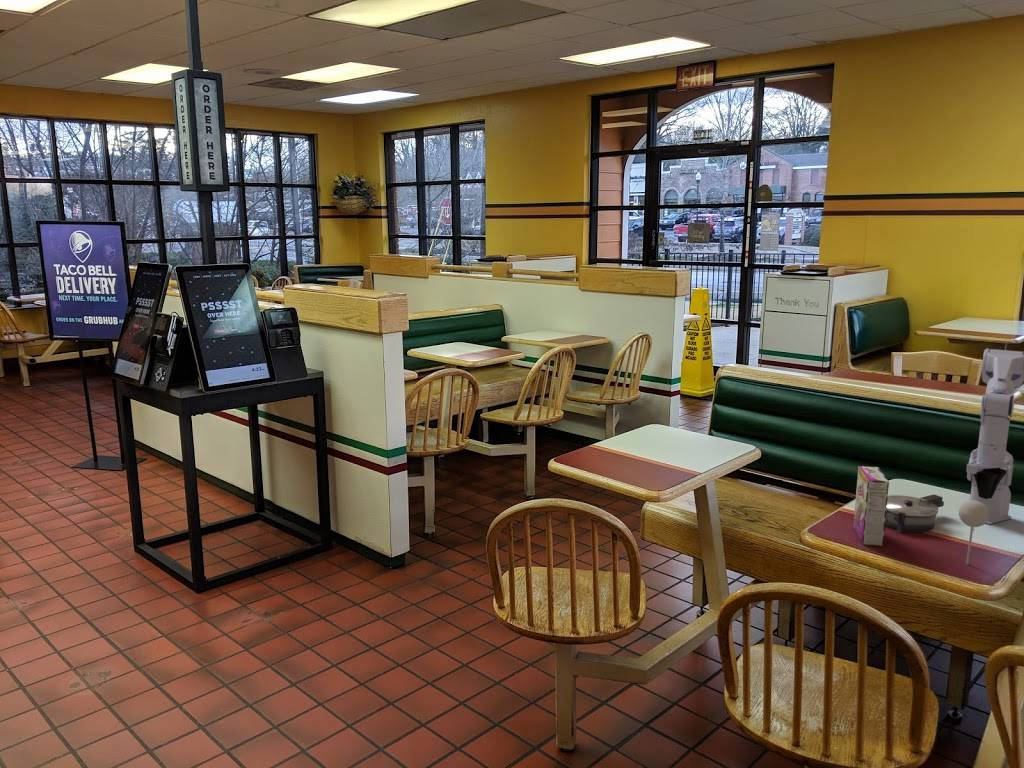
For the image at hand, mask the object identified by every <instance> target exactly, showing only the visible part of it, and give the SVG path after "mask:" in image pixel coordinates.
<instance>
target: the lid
mask: <svg viewBox="0 0 1024 768" xmlns="http://www.w3.org/2000/svg"><path fill="white" fill-rule="evenodd" d="M943 498H944V497H943V496H941V495H937V494H930V495H926V496H923V497H916V496H910V495H896V494H895V495H888V499H887V509H886V511H889V512H891V513H895V514H898V515H899V512H903V513H905V516H909V517H931V516H935V515H936V516H937V515H938V513H939V507H937V506H936V505H935V504H934V503H938V502H942V501H943Z"/></svg>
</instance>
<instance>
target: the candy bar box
mask: <svg viewBox="0 0 1024 768" xmlns="http://www.w3.org/2000/svg"><path fill="white" fill-rule="evenodd" d="M889 485H890V481H889V480H888V478H887V477H886V476H885V474H884V473H883V472H882V470H881V469H880V468H879V467H877V466H864V465H861V466H857V480H856V491H855V503H854V505H855V507H854V514H853V515H854V516H853V526H852V527H853V530H854V531H855V533H856V535H857V537H858V539H859V541H860V543H861V544H862V545H863V546H870V547H871V546H874V547H883V546H884V538H885V529H886V525H885V520H886V509H887V499H888V496H889Z"/></svg>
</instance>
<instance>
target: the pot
mask: <svg viewBox="0 0 1024 768" xmlns="http://www.w3.org/2000/svg"><path fill="white" fill-rule="evenodd" d="M934 504H935V505H936V506H937V507H938V508H942V507H944V505H945V502H944V501H943V500H942V502H938V503H934ZM936 519H937V514H936V515H935V516H931V517H909V516H905V513H903V512H899V515H898V514H895V513H891V512H889V511H886V520H885V526H886V525H888V526H887V527H889V526H890V527H889V528H891V527H893V528H892V529H894V528H896V529H895V530H896V532H897V531H898V532H897V533H899V532H900V534H901V532H902V533H904V531H905V532H909V531H910V533H911V532H912V533H927V532H931V531H933V530H934V529H935V528H936ZM903 530H904V531H903ZM930 530H931V531H930ZM926 531H927V532H926Z"/></svg>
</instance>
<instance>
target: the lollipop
mask: <svg viewBox="0 0 1024 768" xmlns="http://www.w3.org/2000/svg"><path fill="white" fill-rule="evenodd" d="M958 517H959V519H960V521H961V522H962V523H963V524H964V525H966V526H968V527H970V530H969V538H968V539H969V541H968V545H967V546H968V547H967V548H968V549H967V555H966V563H965V564H966V565H967V566H968V565H969V562H970V555H971V548H972V542H973V533H974V528H979V527H982V526H984V525H985V524H987V523H986V522H987V521H988V519H989V511H988V509H987V507H986V506H985V505H984V504H983V503H981V502H979V501H975V500H971V501H970V500H967V501H965V502H963V503H962V504H961V505H960V507H959V509H958Z"/></svg>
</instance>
